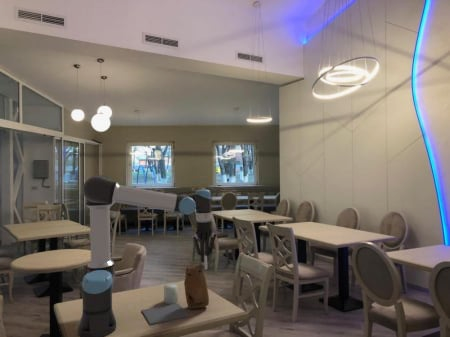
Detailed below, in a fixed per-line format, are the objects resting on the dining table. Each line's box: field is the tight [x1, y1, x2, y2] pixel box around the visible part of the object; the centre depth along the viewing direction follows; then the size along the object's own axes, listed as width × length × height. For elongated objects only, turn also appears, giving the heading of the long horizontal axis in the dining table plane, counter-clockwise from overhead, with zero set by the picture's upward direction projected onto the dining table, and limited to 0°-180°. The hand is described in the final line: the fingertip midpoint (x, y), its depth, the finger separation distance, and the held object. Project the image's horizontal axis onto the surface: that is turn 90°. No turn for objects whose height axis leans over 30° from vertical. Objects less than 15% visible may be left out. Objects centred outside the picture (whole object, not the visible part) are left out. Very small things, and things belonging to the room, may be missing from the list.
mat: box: [141, 302, 190, 326], centre depth 158 cm, size 18×16×1 cm
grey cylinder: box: [163, 283, 179, 305], centre depth 173 cm, size 7×7×8 cm
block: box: [183, 263, 210, 309], centre depth 165 cm, size 11×8×20 cm
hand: (205, 268), depth 167 cm, fingers closed
